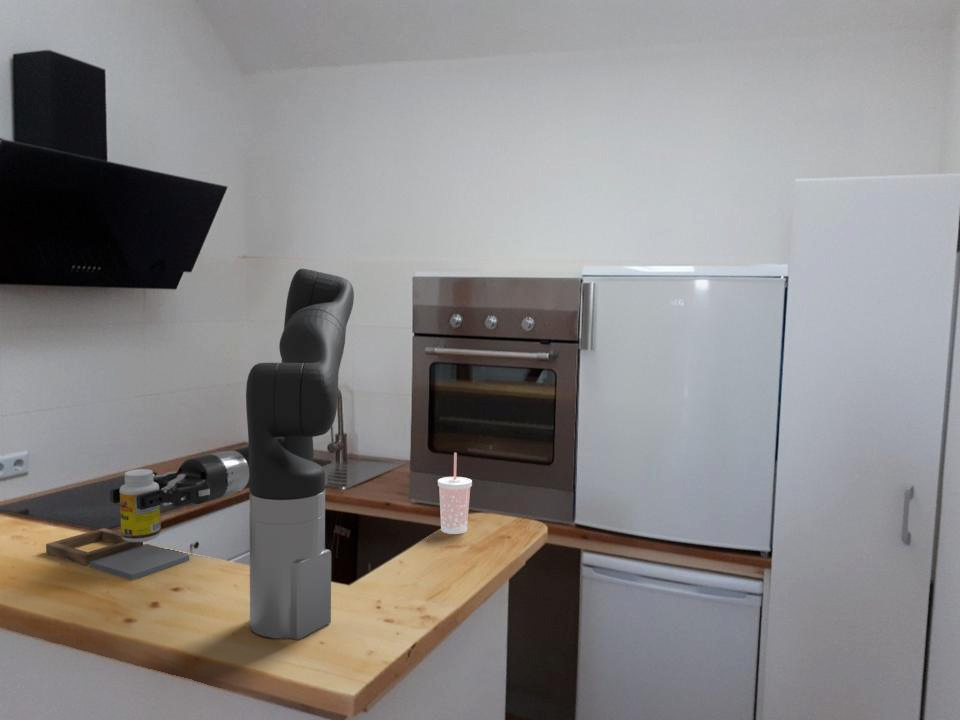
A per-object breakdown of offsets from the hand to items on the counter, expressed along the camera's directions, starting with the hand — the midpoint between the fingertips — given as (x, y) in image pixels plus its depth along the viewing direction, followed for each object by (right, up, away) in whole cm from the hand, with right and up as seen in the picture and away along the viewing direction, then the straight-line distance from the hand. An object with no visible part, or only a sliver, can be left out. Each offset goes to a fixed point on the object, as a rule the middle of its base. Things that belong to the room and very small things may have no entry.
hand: (125, 499), depth 117 cm
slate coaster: (+1, -10, +3) cm, 11 cm away
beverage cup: (+48, -10, +23) cm, 54 cm away
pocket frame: (-9, -10, +8) cm, 15 cm away
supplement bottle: (+1, -6, +3) cm, 7 cm away
